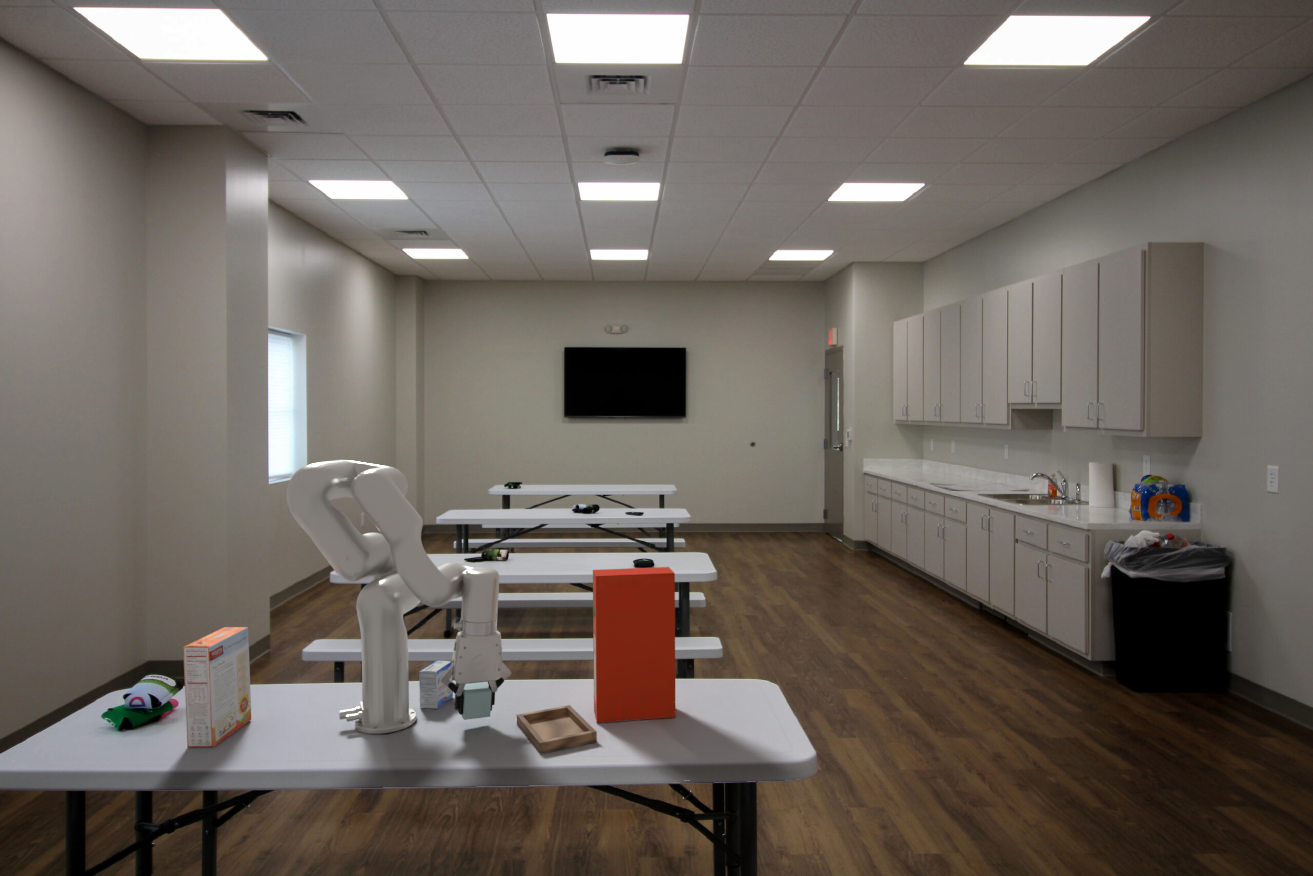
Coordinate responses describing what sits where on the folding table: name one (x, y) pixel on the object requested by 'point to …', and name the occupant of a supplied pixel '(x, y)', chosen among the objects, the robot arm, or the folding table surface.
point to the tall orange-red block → (634, 643)
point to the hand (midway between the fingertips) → (474, 709)
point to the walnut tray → (556, 729)
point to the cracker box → (217, 686)
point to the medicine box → (434, 685)
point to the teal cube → (476, 701)
